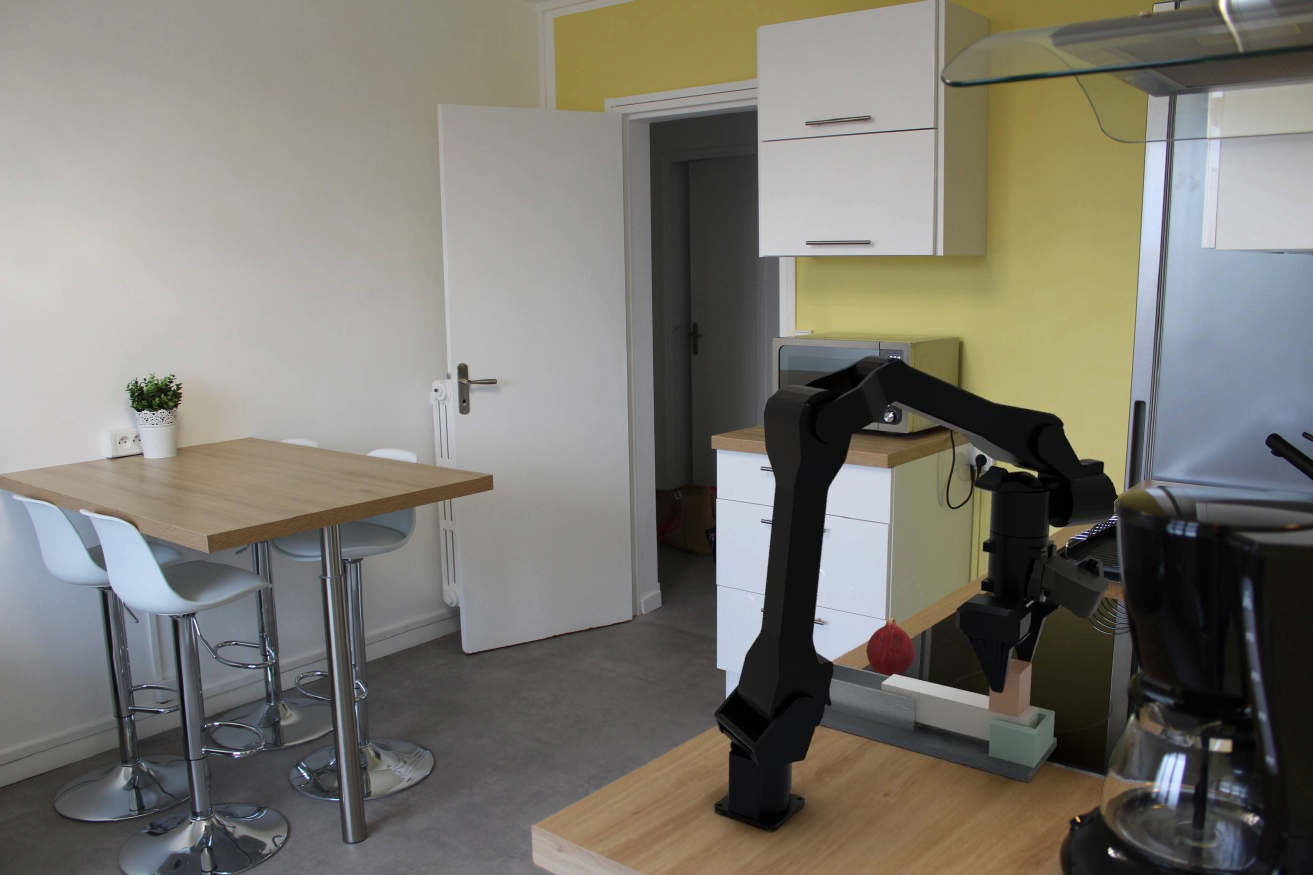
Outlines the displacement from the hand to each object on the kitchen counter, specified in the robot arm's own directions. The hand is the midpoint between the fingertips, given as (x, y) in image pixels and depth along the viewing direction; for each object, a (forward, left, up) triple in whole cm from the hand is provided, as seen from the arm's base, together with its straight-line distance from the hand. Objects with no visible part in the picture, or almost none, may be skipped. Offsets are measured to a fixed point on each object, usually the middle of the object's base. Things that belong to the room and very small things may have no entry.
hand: (1011, 677), depth 105 cm
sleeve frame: (0, +9, -8) cm, 13 cm away
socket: (0, -1, -8) cm, 9 cm away
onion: (+12, +18, -9) cm, 24 cm away
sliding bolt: (0, +6, -7) cm, 9 cm away
